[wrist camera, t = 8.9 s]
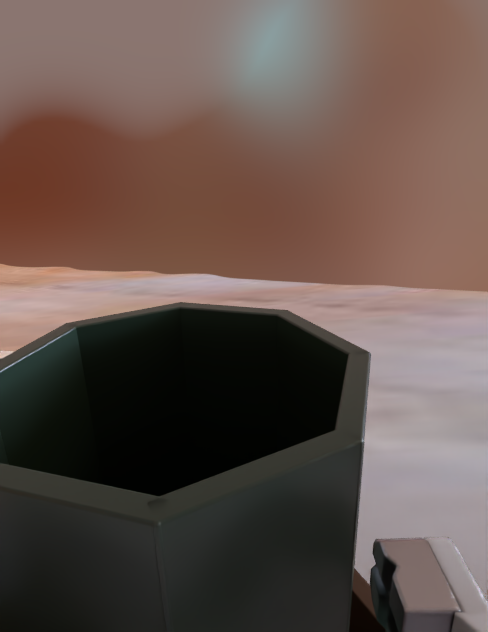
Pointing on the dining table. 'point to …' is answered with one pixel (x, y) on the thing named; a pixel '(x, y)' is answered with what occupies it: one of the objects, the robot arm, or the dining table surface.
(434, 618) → the robot arm
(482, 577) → the dining table surface
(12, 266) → the dining table surface
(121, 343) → the octagonal pencil cup
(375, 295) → the dining table surface
